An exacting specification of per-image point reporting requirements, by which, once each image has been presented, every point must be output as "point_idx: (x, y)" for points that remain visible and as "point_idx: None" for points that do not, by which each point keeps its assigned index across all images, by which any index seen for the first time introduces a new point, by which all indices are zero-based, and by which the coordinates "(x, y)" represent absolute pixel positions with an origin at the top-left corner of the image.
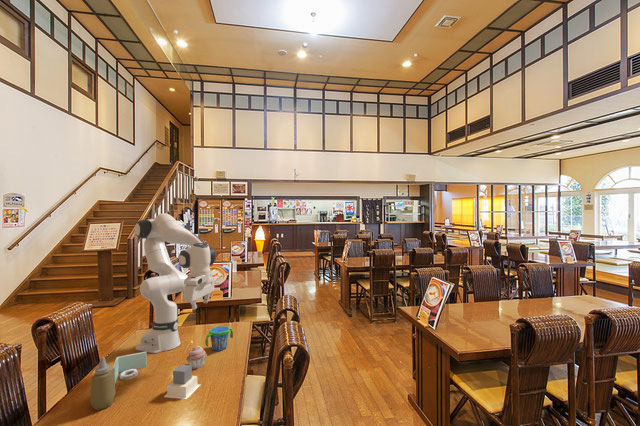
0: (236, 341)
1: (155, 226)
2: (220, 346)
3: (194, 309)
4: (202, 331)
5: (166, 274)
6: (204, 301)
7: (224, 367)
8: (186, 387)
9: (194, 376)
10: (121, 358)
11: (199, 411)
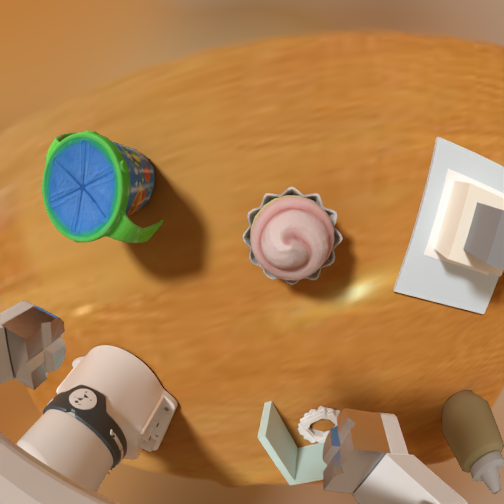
0: (77, 130)
1: None
2: (147, 166)
3: (388, 420)
4: (20, 293)
5: None
6: (46, 357)
7: (313, 103)
8: None
9: (470, 194)
10: (292, 474)
11: None
